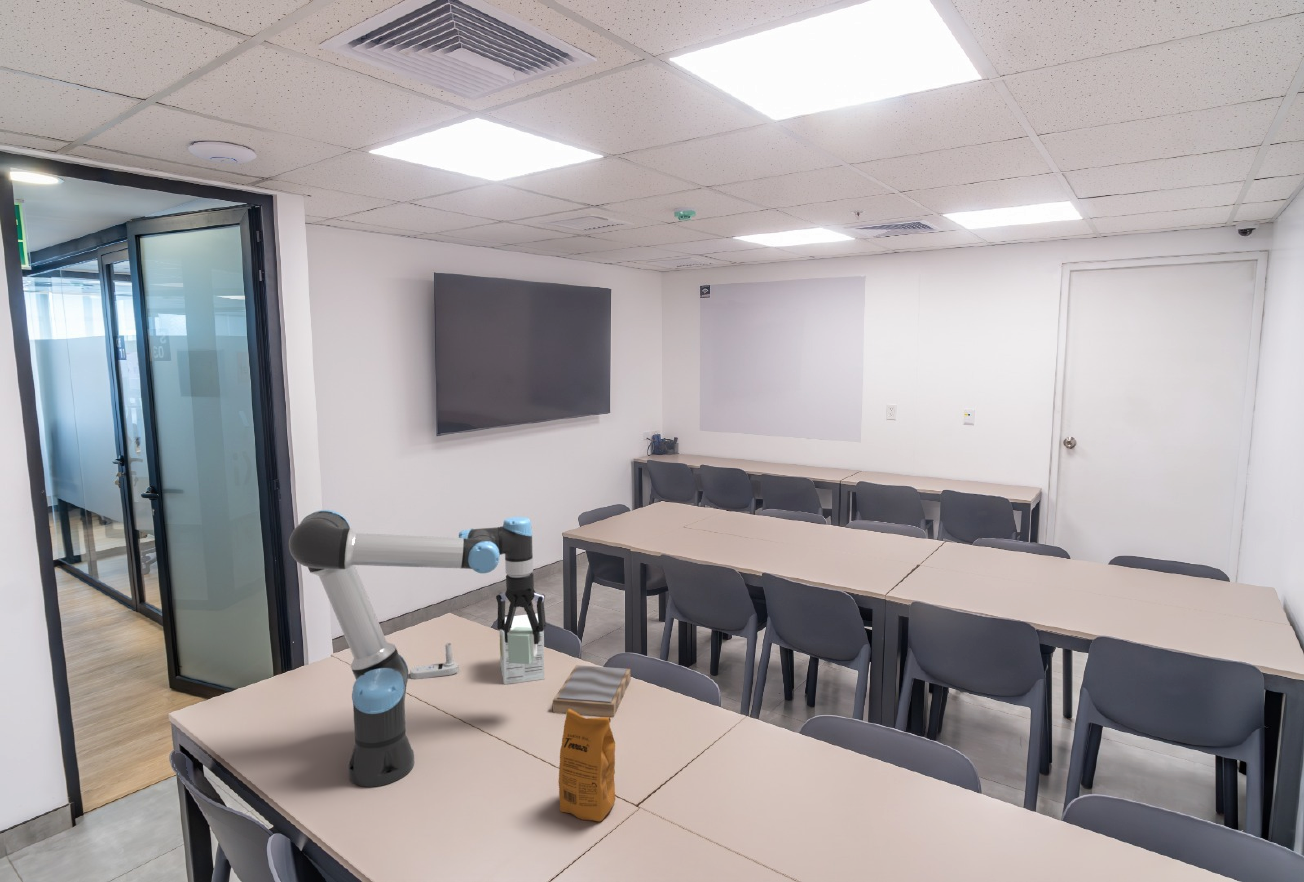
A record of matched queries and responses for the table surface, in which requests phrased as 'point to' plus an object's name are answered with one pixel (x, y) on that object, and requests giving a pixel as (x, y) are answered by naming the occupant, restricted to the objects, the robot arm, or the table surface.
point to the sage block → (520, 645)
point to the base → (593, 691)
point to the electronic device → (436, 667)
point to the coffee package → (587, 767)
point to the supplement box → (521, 671)
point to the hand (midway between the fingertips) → (522, 653)
